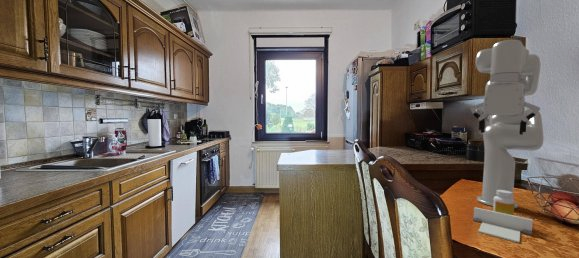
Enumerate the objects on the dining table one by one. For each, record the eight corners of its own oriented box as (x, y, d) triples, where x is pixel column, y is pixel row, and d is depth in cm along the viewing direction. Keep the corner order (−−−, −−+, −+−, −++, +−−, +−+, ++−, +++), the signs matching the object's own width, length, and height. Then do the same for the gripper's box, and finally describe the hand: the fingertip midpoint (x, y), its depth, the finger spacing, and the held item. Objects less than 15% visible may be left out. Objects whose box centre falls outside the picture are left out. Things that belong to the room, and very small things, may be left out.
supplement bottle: (517, 224, 82) (519, 194, 81) (498, 222, 83) (500, 192, 82) (506, 218, 87) (508, 189, 86) (488, 216, 88) (490, 188, 88)
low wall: (474, 218, 86) (475, 206, 86) (531, 231, 76) (532, 218, 76) (472, 220, 84) (473, 208, 84) (531, 234, 74) (532, 221, 74)
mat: (482, 223, 82) (482, 222, 82) (520, 232, 76) (520, 231, 76) (478, 232, 75) (478, 230, 75) (519, 242, 69) (519, 241, 69)
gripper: (542, 79, 79) (538, 135, 80) (473, 83, 91) (470, 131, 92) (542, 76, 74) (538, 135, 74) (470, 80, 86) (466, 132, 86)
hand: (501, 133), depth 83 cm, fingers open, 9 cm apart
